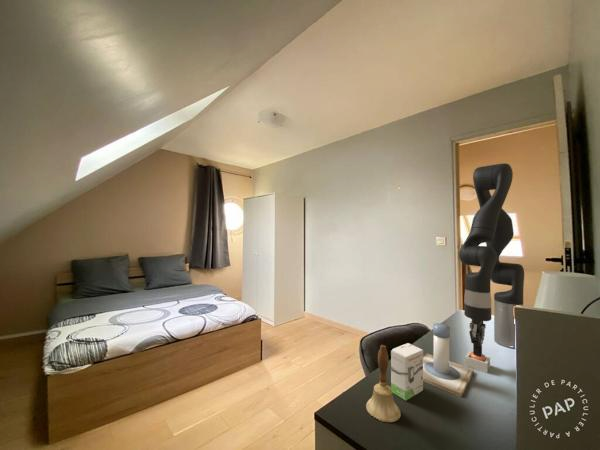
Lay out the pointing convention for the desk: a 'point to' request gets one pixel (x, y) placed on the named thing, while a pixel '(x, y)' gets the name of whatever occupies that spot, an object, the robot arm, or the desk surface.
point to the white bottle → (441, 348)
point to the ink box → (406, 371)
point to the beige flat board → (447, 376)
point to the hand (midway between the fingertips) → (477, 354)
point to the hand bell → (383, 394)
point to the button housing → (477, 363)
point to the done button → (477, 357)
